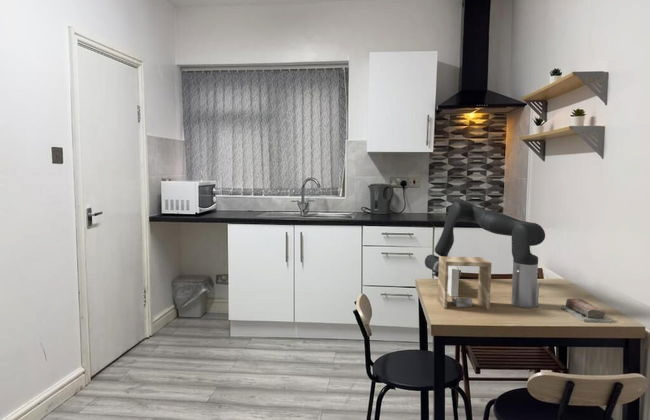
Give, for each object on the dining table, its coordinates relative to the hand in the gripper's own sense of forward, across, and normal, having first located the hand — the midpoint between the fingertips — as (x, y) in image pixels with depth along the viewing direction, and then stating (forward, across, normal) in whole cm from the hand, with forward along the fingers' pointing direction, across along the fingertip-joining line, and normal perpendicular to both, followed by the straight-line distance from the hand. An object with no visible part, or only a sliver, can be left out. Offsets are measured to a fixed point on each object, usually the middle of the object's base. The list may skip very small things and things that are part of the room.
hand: (451, 277), depth 211 cm
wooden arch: (+19, 0, +7) cm, 20 cm away
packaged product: (+29, +43, +8) cm, 53 cm away
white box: (0, 0, +7) cm, 7 cm away
